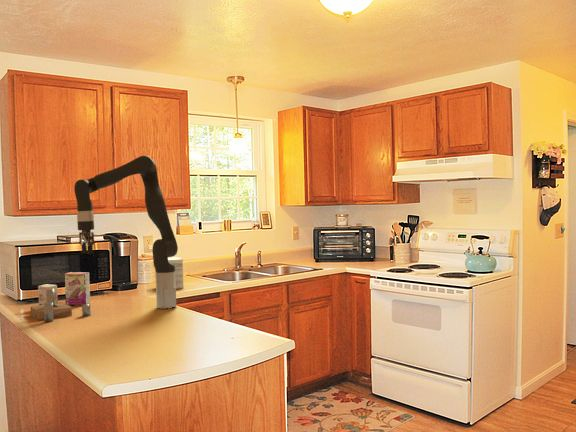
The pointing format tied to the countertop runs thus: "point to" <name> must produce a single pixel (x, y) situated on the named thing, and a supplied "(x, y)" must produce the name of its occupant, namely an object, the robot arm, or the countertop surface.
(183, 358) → the countertop surface
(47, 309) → the medium pin
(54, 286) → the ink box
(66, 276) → the candy bar box
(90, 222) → the robot arm
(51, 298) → the long pin
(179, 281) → the supplement box
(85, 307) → the short pin
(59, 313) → the hole board
